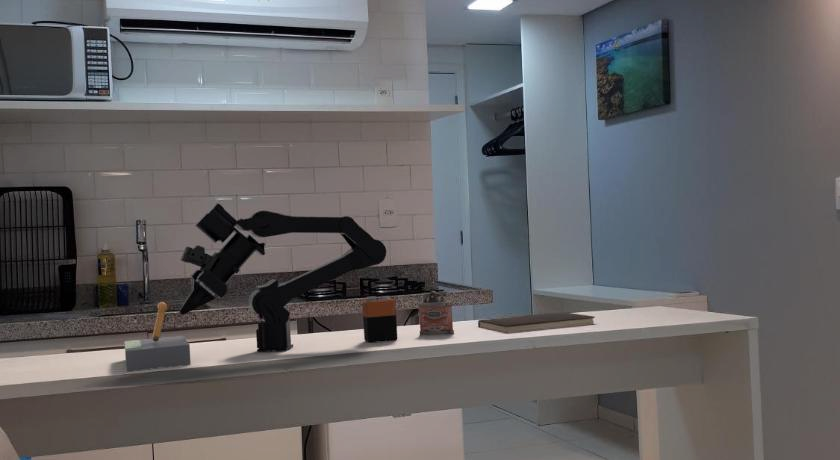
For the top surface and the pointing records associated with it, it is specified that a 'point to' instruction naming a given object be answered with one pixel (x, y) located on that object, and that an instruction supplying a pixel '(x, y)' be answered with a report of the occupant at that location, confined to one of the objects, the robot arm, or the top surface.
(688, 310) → the top surface
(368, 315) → the battery
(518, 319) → the hardcover book
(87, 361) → the top surface
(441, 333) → the red perfume bottle
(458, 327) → the top surface
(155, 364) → the block
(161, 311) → the lever
